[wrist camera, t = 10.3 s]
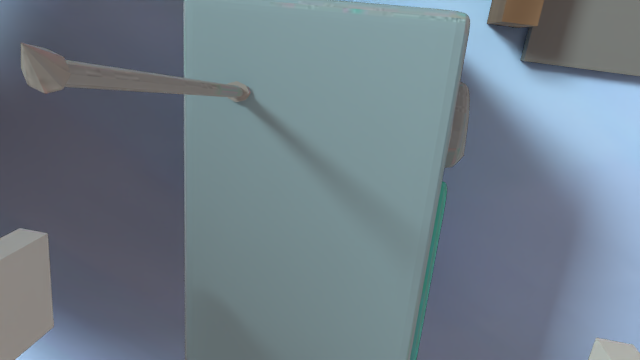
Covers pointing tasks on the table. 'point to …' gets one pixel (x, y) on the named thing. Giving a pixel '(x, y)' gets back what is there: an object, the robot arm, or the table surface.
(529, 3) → the shelf cradle
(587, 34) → the rubber mat
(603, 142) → the table surface
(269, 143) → the radio
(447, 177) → the table surface
